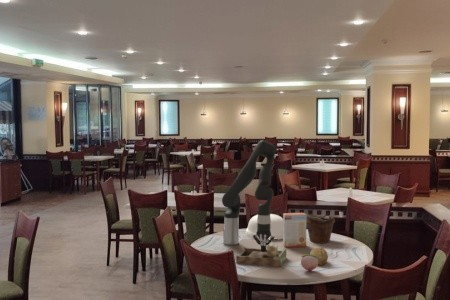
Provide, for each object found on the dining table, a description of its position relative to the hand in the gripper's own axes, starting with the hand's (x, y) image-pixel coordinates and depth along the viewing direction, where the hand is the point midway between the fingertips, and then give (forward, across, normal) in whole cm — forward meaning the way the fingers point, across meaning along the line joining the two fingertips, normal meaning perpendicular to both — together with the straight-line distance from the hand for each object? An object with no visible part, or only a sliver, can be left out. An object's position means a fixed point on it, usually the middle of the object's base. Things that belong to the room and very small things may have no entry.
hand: (263, 251), depth 287 cm
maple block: (+1, +5, 0) cm, 5 cm away
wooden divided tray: (+4, 0, -3) cm, 5 cm away
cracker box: (+4, +12, +34) cm, 36 cm away
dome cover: (+5, -11, +58) cm, 59 cm away
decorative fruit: (+4, +28, -14) cm, 32 cm away
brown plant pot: (+4, +26, +52) cm, 58 cm away
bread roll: (+4, +31, +4) cm, 32 cm away
